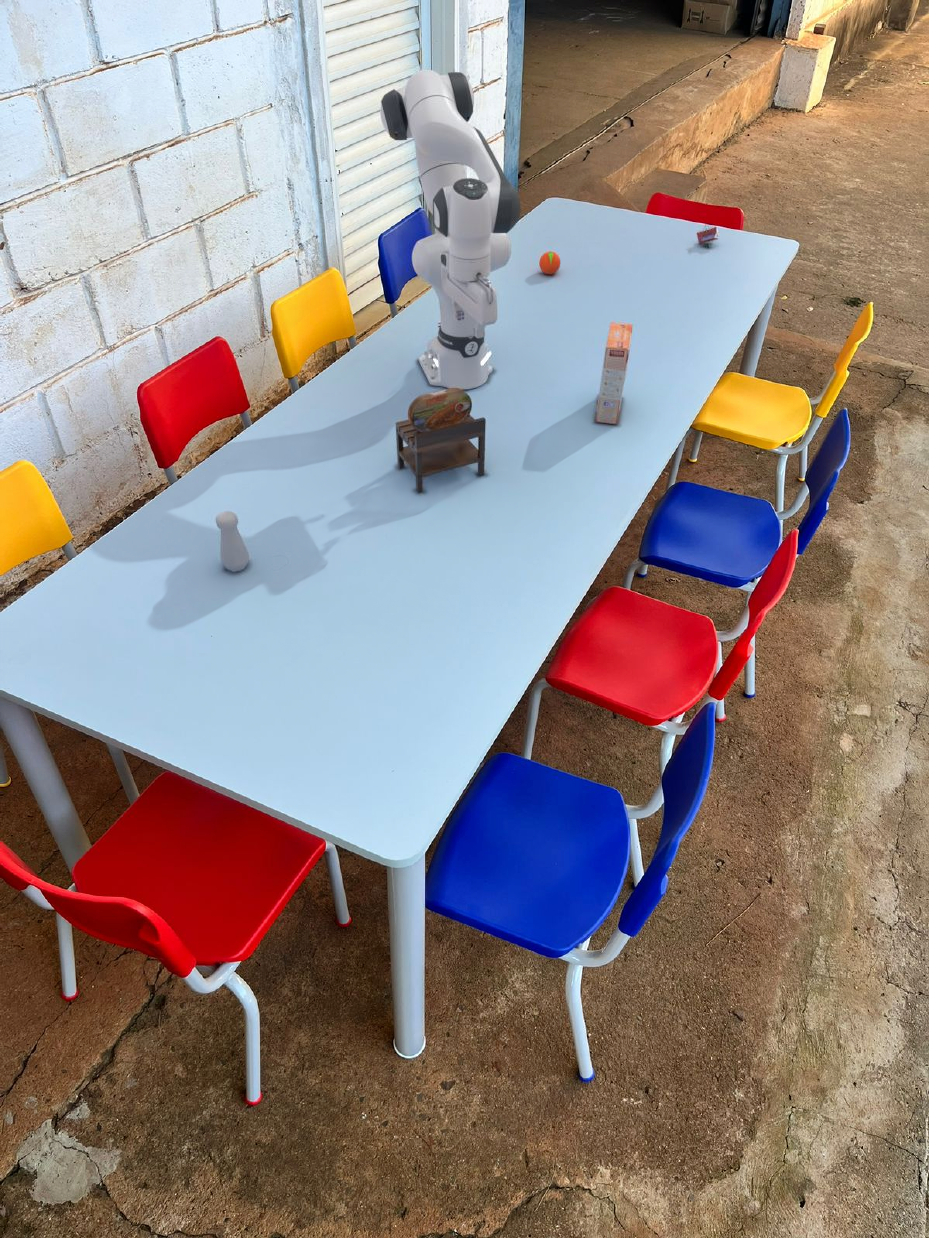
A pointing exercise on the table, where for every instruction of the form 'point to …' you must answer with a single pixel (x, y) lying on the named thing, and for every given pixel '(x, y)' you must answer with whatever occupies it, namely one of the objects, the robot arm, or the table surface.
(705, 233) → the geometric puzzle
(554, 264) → the clementine
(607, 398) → the cracker box
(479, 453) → the rack
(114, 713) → the table surface
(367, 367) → the table surface
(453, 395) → the tin
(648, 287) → the table surface
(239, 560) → the salt shaker
